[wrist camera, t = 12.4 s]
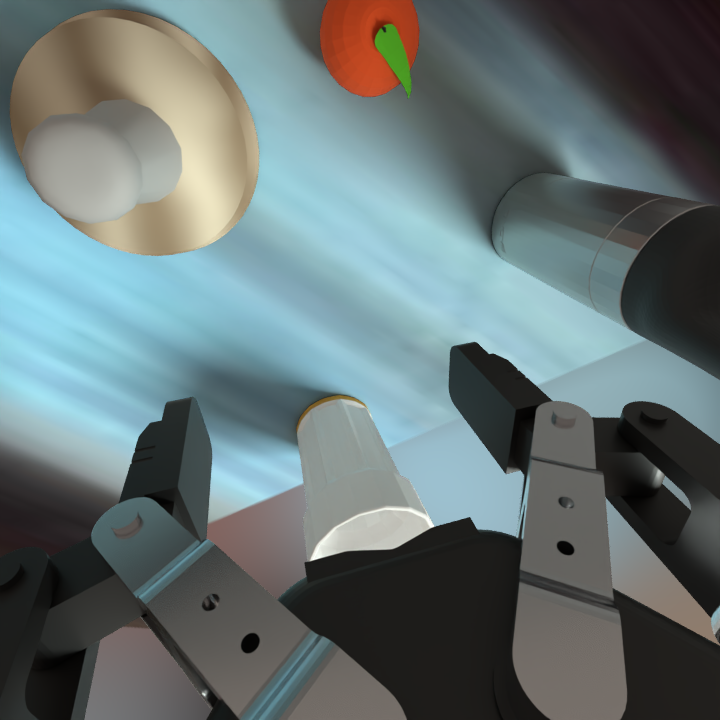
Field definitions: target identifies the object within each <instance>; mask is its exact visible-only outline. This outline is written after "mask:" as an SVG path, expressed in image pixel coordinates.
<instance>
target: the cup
mask: <svg viewBox="0 0 720 720" xmlns="http://www.w3.org/2000/svg"><path fill="white" fill-rule="evenodd" d="M296 431H297V438H298V445H299V452H300V459H301V467H302V474H303V481H304V488H305V494H306V502H307V510H306V513H305V516H304V518H303V526H304V534H305V543H306V551H307V558H308V562H309V561H312V560H316V559H319V558H323V557H327V556H330V555H334V554H338V553H341V552H345V551H357V550H387V549H394V548H397V547H399V546H400V545H402V544H404V543H406V542H407V541H409V540H411V539H413V538H414V537H416V536H418V535H420V534H421V533H423V532H425V531H426V530H428V529H430V528H432V527H434V525H433V523H432V521H431V519H430V518H429V515H428V513H427V512H426V510H425V508H424V506H423V504H422V502H421V500H420V498H419V496H418V495H417V493H416V491H415V489H414V487H413V486H412V484H411V482H410V481H409V479H407V478H405V477H403V476H401V475H400V474H399V472H398V470H397V468H396V466H395V464H394V462H393V460H392V458H391V456H390V454H389V452H388V450H387V448H386V446H385V444H384V442H383V440H382V438H381V436H380V434H379V432H378V430H377V428H376V426H375V424H374V422H373V420H372V416H371V414H370V412H369V410H368V408H367V407H366V405H365V404H364V403H362V402H361V401H359V400H357V399H355V398H353V397H348V396H342V395H337V396H331V397H327V398H323V399H321V400H319V401H317V402H315V403H314V404H312V405H310V406H309V407H308V408H307V409H306V410H305V412H304V413H303V414H302V415H301V417H300V419H299V422H298V425H297V428H296Z"/></svg>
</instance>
